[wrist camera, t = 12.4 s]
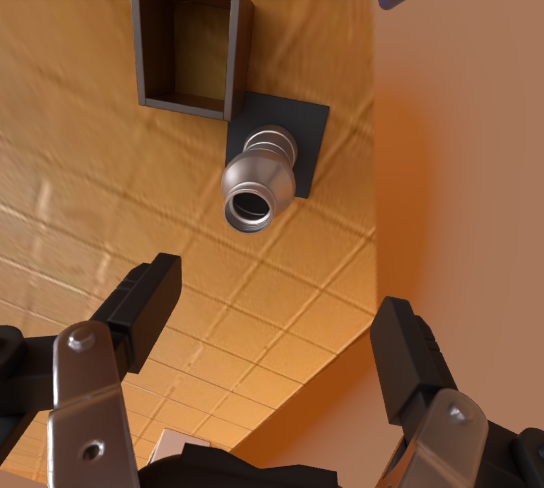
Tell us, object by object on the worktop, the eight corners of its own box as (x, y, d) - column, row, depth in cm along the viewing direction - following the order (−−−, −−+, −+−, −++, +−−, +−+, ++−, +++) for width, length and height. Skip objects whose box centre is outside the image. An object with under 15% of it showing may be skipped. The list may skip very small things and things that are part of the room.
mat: (231, 88, 36) (230, 88, 35) (328, 106, 36) (329, 106, 35) (224, 182, 42) (223, 183, 42) (307, 197, 42) (307, 198, 42)
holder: (166, -12, 32) (127, -33, 25) (254, 4, 32) (241, -12, 25) (168, 97, 37) (138, 104, 30) (244, 111, 37) (230, 122, 30)
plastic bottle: (240, 129, 38) (187, 182, 21) (292, 114, 36) (281, 158, 19) (254, 177, 41) (219, 257, 24) (303, 165, 39) (302, 242, 22)
